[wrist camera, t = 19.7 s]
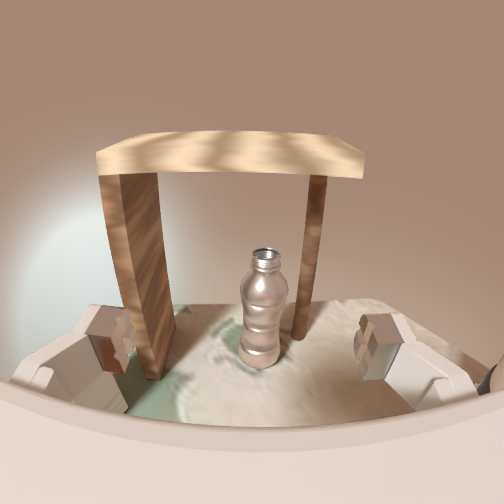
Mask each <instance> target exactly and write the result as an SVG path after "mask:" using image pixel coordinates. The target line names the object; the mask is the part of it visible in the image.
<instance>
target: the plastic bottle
mask: <svg viewBox="0 0 504 504" xmlns="http://www.w3.org/2000/svg"><path fill="white" fill-rule="evenodd" d="M250 266H251V268H252V269H251V270H250V271H249V272H248V273H247V274H246V276H245V277H244V278H243V280H242V283H241V286H240V293H241V299H242V306H243V330H242V336H241V339H240V342H239V347H238V350H239V355H240V358H241V360H242V361H243V362H244V363H245V364H246V365H247V366H249V367H251V368H255V369H264V368H267V367H270V366H271V365H273V364H274V363H275V362H276V361H277V359H278V357H279V354H280V340H279V326H280V320H281V316H282V311H283V308H284V305H285V301H286V298H287V295H288V285H287V281H286V280H285V278H284V276H283V275H282V274H281V272H280V271H279V269H280V268H281V263H280V253H279V252H278V251H277V250H275V249H272V248H266V247H263V248H257V249H255V250H253V251H252V254H251V264H250Z"/></svg>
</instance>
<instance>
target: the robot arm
mask: <svg viewBox="0 0 504 504" xmlns="http://www.w3.org/2000/svg"><path fill="white" fill-rule="evenodd" d="M131 317H132V316H131V313H130V310H129V309H128V308H123V307H114V306H106V305H96V304H91V305H89V306H88V308H87V309H86V311H85V312H84V314H83V316H82V317H81V319H80V320H79V322H78V323H77V325H76V327H75V328H74V330H73V332H68V333H66V334H64V335H63V336H61V337H59V338H58V339H56V340H54V341H53V342H51V343H49V344H48V345H46V346H44V347H42V348H41V349H39V350H38V351H36V352H34V353H33V354H31V355H29V356H28V357H26V358H24V359H23V360H22V362H21V363H20V365H19V366H18V368H17V369H16V371H15V373H14V374H13V376H12V378H11V380H10V381H9V382H7V381H5V380H2V379H0V504H504V355H503V357H502V358H501V360H500V362H499V363H498V364H497V365H495V366H494V367H493V368H492V369H491V370H490V372H488V373H487V374H486V376H485V377H484V378H483V380H482V382H481V383H475V384H473V383H472V381H471V379H470V377H469V375H468V373H467V372H466V371H464V370H463V369H461V368H460V367H458V366H457V365H455V364H454V363H452V362H451V361H449V360H448V359H447V358H445V357H444V356H442V355H441V354H439V353H438V352H436V351H435V350H433V349H432V348H430V347H429V346H427V345H426V344H424V343H423V342H418V341H417V339H416V337H415V335H414V333H413V332H412V330H411V328H410V326H409V324H408V322H407V321H406V319H405V317H404V315H403V314H402V313H400V312H396V313H388V314H387V313H385V314H363V315H362V317H361V318H360V322H359V325H360V327H361V329H359V330H358V331H357V332H356V335H355V338H354V352H355V356H356V358H357V359H359V360H360V361H361V362H360V365H359V369H360V372H361V375H362V378H363V381H366V380H379V379H385V381H386V382H387V383H388V384H389V385H390V386H391V387H392V388H393V389H394V390H395V391H396V392H397V393H398V394H399V395H400V396H401V397H402V398H403V399H404V400H405V401H406V402H407V403H408V404H409V405H410V406H411V407H412V408H413V409H414V410H415V411H414V412H413V413H409V414H404V415H399V416H393V417H387V418H380V419H374V420H366V421H358V422H350V423H340V424H330V425H316V426H298V427H233V426H214V425H201V424H190V423H180V422H172V421H164V420H157V419H150V418H143V417H137V416H131V415H126V414H121V413H115V412H111V411H106V410H101V409H97V408H92V407H88V406H84V405H80V404H76V403H73V401H72V400H73V399H74V398H75V397H76V396H78V395H79V394H80V393H81V392H82V391H83V390H84V389H85V388H87V387H88V386H89V385H90V384H91V383H92V382H93V381H94V380H96V379H97V378H98V377H99V376H100V375H101V374H102V373H103V372H104V371H107V372H114V373H122V374H125V371H126V369H127V366H128V363H129V361H130V360H129V357H128V355H129V354H130V353H131V352H133V350H134V347H135V343H136V331H135V327H134V326H133V325H132V324H131V323H130V320H131Z"/></svg>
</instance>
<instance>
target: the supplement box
mask: <svg viewBox="0 0 504 504" xmlns="http://www.w3.org/2000/svg"><path fill="white" fill-rule="evenodd" d="M72 401H73V403H76V404H80V405H84V406H88V407H92V408H97V409H101V410H106V411H111V412H115V413H121V414H123V413H124V412H125V411H126V410H127V409H128V405H127V403H126V401H125V399H124V397H123V395H122V393H121V391H120V389H119V387H118V385H117V383H116V381H115V379H114V377H113V374H112V372H107V371H104V372H103V373H102V374H101V375H100V376H99V377H98V378H97V379H96V380H94V381H93V382H92V383H91V384H90V385H89V386H88V387H87V388H85V389H84V390H83V391H82V392H81V393H80V394H79V395H78V396H76V397H75V398H74V399H73V400H72Z"/></svg>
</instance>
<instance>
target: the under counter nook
mask: <svg viewBox="0 0 504 504" xmlns="http://www.w3.org/2000/svg"><path fill="white" fill-rule="evenodd" d="M96 158H97V167H98V176H99V184H100V191H101V198H102V204H103V211H104V217H105V223H106V229H107V234H108V240H109V245H110V249H111V255H112V259H113V264H114V268H115V273H116V277H117V281H118V286H119V290H120V294H121V298H122V301H123V305H124V308H128V309H129V310H130V313H131V316H132V317H131V320H130V323H131V324H132V325H133V326H134V327H135V331H136V343H135V347H136V350H137V353H138V356H139V359H140V362H141V365H142V368H143V371H144V374H145V377H146V379H153V380H161V378H162V374H163V370H164V367H165V363H166V359H167V356H168V352H169V349H170V345H171V341H172V338H173V334H174V331H175V328H176V325H175V319H174V313H173V307H172V301H171V294H170V287H169V280H168V274H167V266H166V258H165V250H164V242H163V233H162V223H161V213H160V204H159V191H158V180H157V172H198V171H199V172H201V171H206V172H212V171H214V172H219V171H220V172H221V171H222V172H223V171H224V172H225V171H226V172H227V171H228V172H268V173H292V174H293V173H294V174H310V181H309V192H308V202H307V213H306V223H305V232H304V241H303V250H302V259H301V267H300V275H299V283H298V291H297V299H296V306H295V314H294V321H293V328H292V335H291V337H292V338H293V339H294V340H297V341H300V340H303V339H304V337H305V331H306V326H307V320H308V315H309V309H310V303H311V297H312V290H313V284H314V278H315V271H316V264H317V258H318V250H319V243H320V236H321V228H322V221H323V213H324V204H325V195H326V186H327V177H328V176H339V177H352V178H362V177H363V170H364V162H365V154H364V153H362V152H360V151H359V150H357V149H355V148H354V147H352V146H350V145H348V144H347V143H345V142H343V141H341V140H340V139H338V138H336V137H334V136H326V135H315V134H301V133H285V132H262V131H190V132H166V133H151V134H138V135H136V136H133V137H131V138H128V139H126V140H124V141H121V142H119V143H116V144H114V145H112V146H109V147H107V148H105V149H103V150H101V151H98V152H96Z"/></svg>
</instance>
